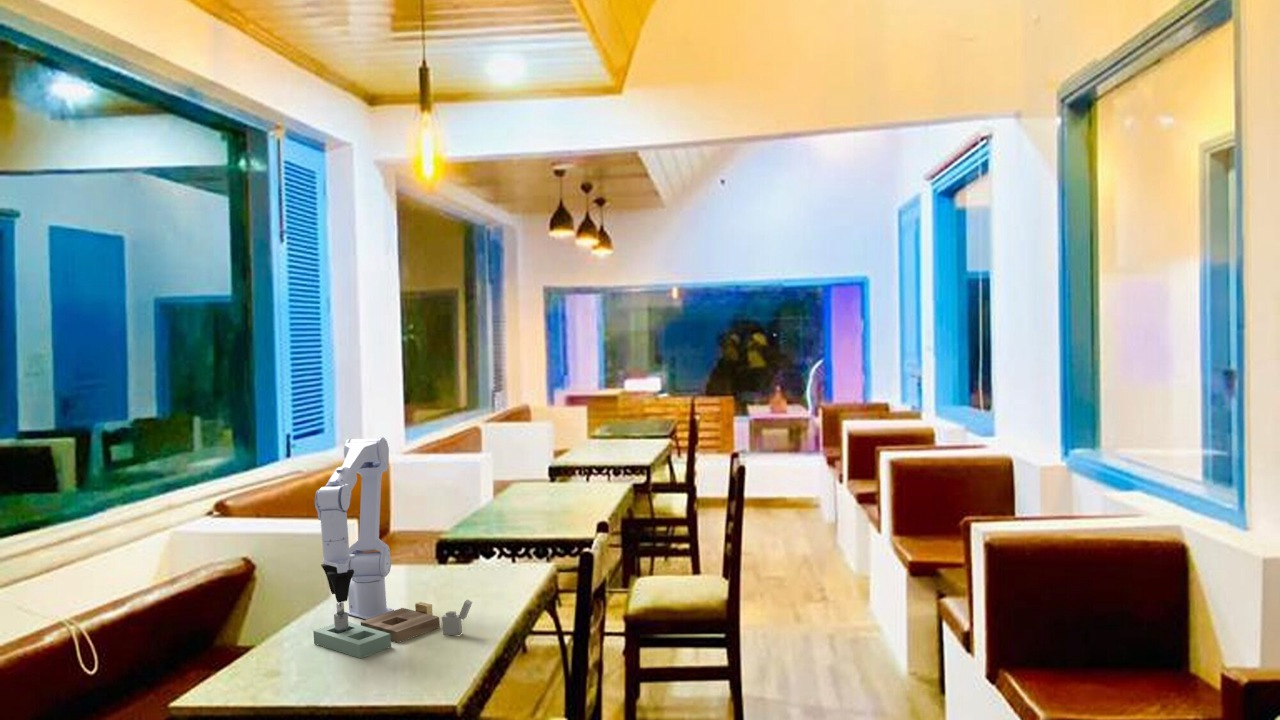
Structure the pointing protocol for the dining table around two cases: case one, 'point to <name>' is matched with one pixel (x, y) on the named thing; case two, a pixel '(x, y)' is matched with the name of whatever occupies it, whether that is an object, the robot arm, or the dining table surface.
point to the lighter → (455, 620)
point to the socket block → (403, 623)
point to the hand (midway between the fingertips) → (339, 597)
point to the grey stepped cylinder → (341, 619)
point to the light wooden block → (424, 608)
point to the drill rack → (353, 640)
